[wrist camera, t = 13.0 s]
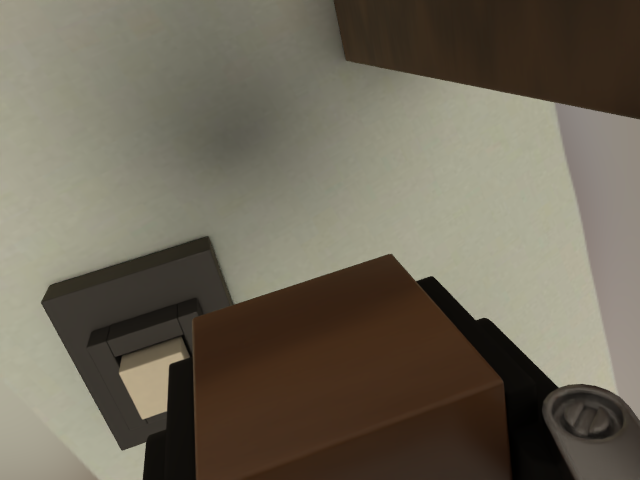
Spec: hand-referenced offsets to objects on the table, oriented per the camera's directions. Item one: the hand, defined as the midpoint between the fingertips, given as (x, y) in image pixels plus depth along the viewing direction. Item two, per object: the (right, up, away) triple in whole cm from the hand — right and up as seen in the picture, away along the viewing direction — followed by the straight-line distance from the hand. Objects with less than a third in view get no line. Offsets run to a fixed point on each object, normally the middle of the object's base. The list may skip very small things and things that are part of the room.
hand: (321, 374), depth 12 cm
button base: (-10, -4, +23) cm, 26 cm away
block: (0, 0, 0) cm, 0 cm away
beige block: (-10, -5, +20) cm, 23 cm away
